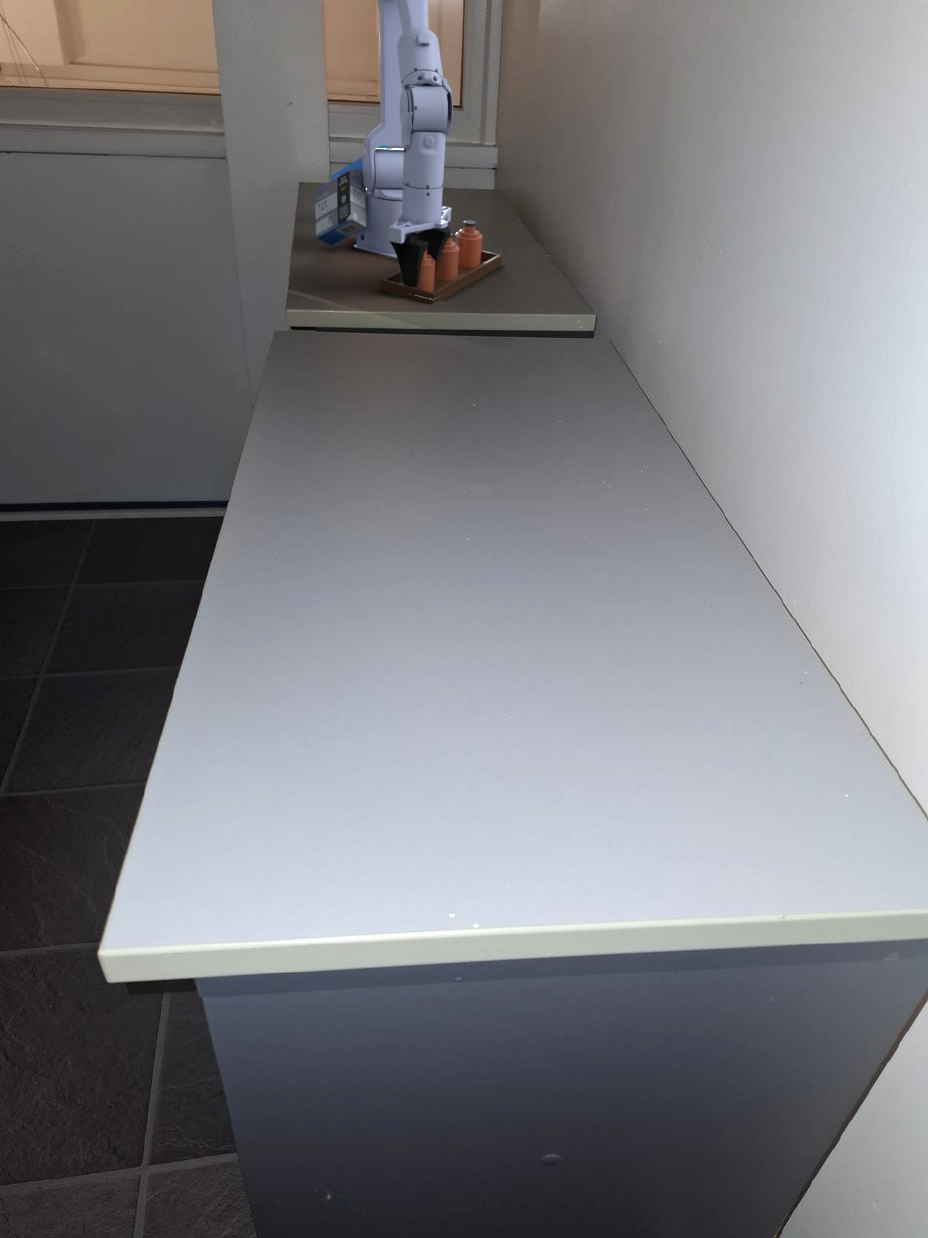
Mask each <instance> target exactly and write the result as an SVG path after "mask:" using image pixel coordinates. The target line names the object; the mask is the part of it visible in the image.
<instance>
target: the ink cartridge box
mask: <svg viewBox="0 0 928 1238" xmlns="http://www.w3.org/2000/svg"><path fill="white" fill-rule="evenodd" d="M362 158H363V156H361V157H360V158H358V159H357V160H355V161H353V162H351V163H350V164H348V165H346V166H345V167H344V168H342V169H340V170H339V171H337V172H335V173H333V174H331V177H330V181H328V182H327V183H325V184H323V185H322V186H320V187H318V188H316V189H315V190H314V204H315V205H314V214H315V239H317V240H318V241H321V242H323V243H325V244H327V245H329V246H334V245H336V244H337V243H339V242H341V241H344V240H345V239H348V238H349V237H351V236H353V235H355V234H356V233H357V232H359V231H361V230H363V229H366V188H365V186H364V182H363V174H362Z"/></svg>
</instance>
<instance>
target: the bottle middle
mask: <svg viewBox="0 0 928 1238" xmlns="http://www.w3.org/2000/svg"><path fill="white" fill-rule="evenodd" d="M453 236H454V234H453V233H452V232H451V235H450V236H449V238H448V240H447V241H446V243H445V245H444V247H443V250H442V252H441V255H440V258H439V262H438V265H437V269H436V272H435V277H434V279H436V280H440V281H452V280H454V279H456V278H457V277H458V262H459V247H458V246H457V245H456V243H455V241H453Z"/></svg>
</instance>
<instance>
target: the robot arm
mask: <svg viewBox="0 0 928 1238" xmlns="http://www.w3.org/2000/svg"><path fill="white" fill-rule="evenodd" d="M376 1H377V7H378V15H379V16H378V26H379V29H378V31H379V33H378V34H379V100H380V101H379V102H380V108H379V109H380V123H379V124H378V125H377V126H376V127H375V128H374V129H372V130H370V131H371V132H370V131H369V132H370V133H369V132H368V133H369V134H368V133H367V134H368V135H367V134H366V135H367V136H366V135H365V136H366V137H364V140H363V144H362V145H363V147H362V149H363V152H362V157H363V158H362V174H363V182H364V186H365V188H366V229H363V230H361V231H359V232H357V233H355V234H356V235H355V236H356V237H355V238H356V239H355V240H356V241H355V242H356V243H355V244H354V245H353V248H356V249H360V250H364V251H368V252H371V253H375V254H379V255H382V256H386V257H389V258H393V259H394V258H395V259H397V261H398V264H399V270H401V274H402V279H403V283H404V285H408V286H411V287H415V288H416V287H417V286H418V283H419V278H420V270H421V264H422V259H423V256H424V253H425V250H426V248H427V246H428V250H427V254H429V255H431V257H432V258H433V259H434V260H435V272H436V269H437V265H438V262H439V258H440V255H441V252H442V250H443V247H444V245H445V243H446V241H447V240H448V238H449V236H450V235H451V233H452V229H451V228H450V227H448V225H449V224H448V223H449V222H451V218H452V208H451V207H449V206H445V205H443V191H444V177H445V175H444V172H445V157H446V155H445V154H446V135H447V136H448V135H449V134H450V133H451V129H452V124H453V117H454V116H453V115H454V101H453V94H452V89H451V87H450V85H449V83H448V79H447V78H445V77H444V75H443V66H442V58H441V50H440V44H439V38H438V36H437V35H436V34H435V33H434V32H433V31H432V30H431V29H430V27H429V26H430V24H429V2H428V0H376ZM380 146H389V147H403V148H389V149H377V148H378V147H380Z"/></svg>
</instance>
